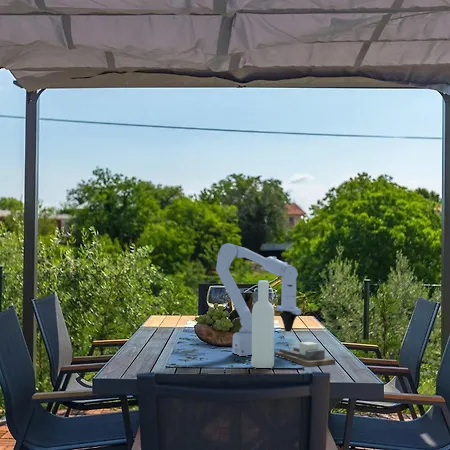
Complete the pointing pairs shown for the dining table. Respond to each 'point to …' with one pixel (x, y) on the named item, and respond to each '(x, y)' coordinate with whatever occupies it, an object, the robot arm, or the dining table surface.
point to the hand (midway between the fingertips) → (288, 331)
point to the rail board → (306, 362)
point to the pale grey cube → (307, 347)
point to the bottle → (263, 329)
